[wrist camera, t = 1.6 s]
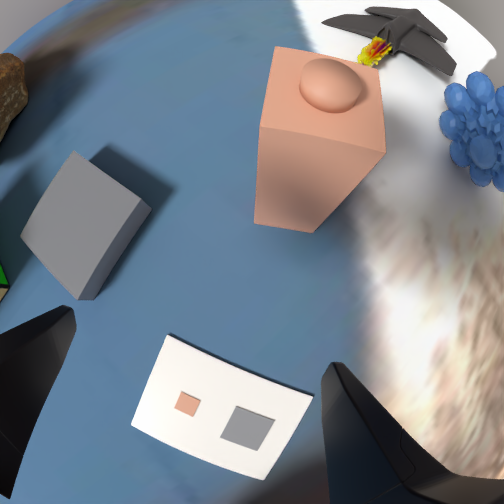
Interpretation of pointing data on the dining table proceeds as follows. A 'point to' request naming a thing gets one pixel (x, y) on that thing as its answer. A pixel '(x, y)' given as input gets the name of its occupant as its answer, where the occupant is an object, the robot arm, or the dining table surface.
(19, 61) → the rough brown rock
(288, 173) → the tall brick
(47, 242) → the base plate
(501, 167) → the blue knobby flower
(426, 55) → the toy plane
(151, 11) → the dining table surface
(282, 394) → the page
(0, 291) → the puzzle cube
